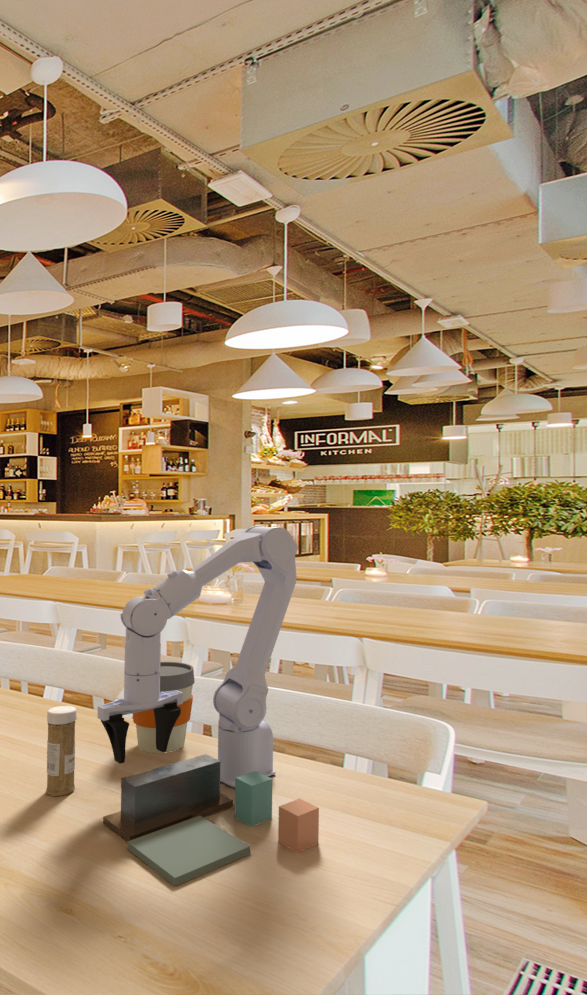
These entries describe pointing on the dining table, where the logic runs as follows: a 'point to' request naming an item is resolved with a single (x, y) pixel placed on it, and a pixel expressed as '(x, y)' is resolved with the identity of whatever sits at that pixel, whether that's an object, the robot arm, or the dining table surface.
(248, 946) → the dining table surface
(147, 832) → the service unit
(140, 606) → the robot arm
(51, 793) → the spice jar
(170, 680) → the reusable coffee cup
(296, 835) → the terracotta block
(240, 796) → the block
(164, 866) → the pad
